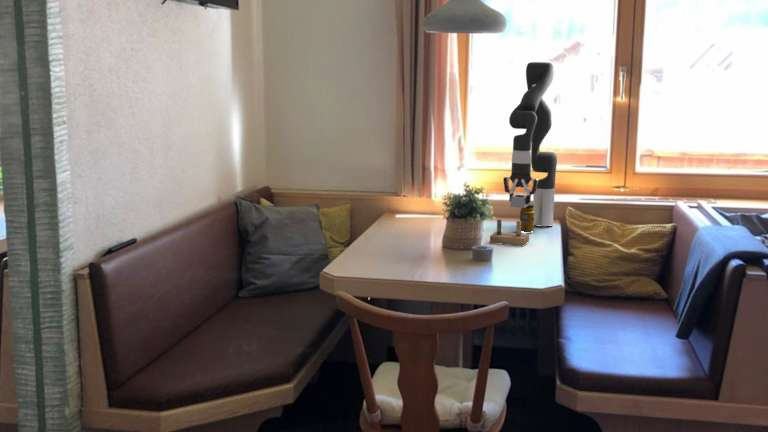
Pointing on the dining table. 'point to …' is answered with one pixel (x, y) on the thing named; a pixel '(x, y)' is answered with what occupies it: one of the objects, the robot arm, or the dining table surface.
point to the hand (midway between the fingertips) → (519, 203)
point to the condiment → (527, 218)
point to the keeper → (509, 235)
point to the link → (518, 201)
